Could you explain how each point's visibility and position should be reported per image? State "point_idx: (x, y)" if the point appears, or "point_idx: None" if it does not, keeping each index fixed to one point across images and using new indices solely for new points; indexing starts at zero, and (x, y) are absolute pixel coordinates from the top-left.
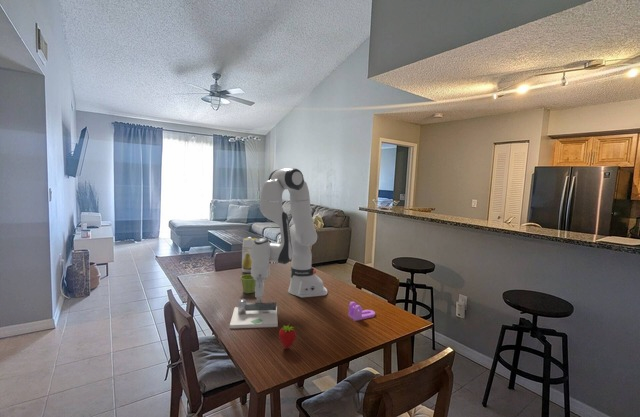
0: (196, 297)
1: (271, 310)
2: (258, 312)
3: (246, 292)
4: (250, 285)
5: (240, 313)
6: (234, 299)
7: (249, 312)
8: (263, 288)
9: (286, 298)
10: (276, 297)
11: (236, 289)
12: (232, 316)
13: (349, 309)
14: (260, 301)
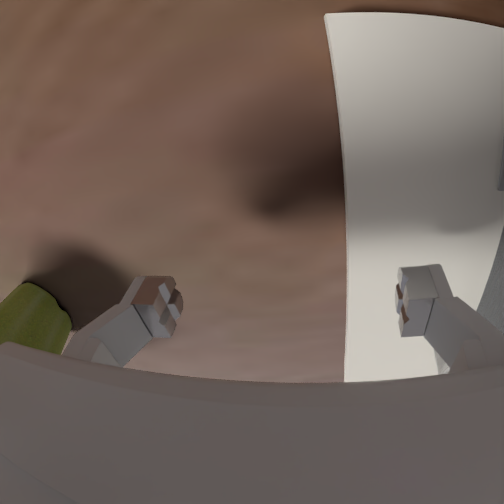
0: None
1: (470, 91)
2: (489, 231)
3: (68, 324)
4: (34, 347)
5: None
6: (175, 368)
7: (466, 299)
8: (264, 415)
9: (22, 9)
10: (25, 106)
11: (61, 352)
12: None
13: None
14: (447, 286)
